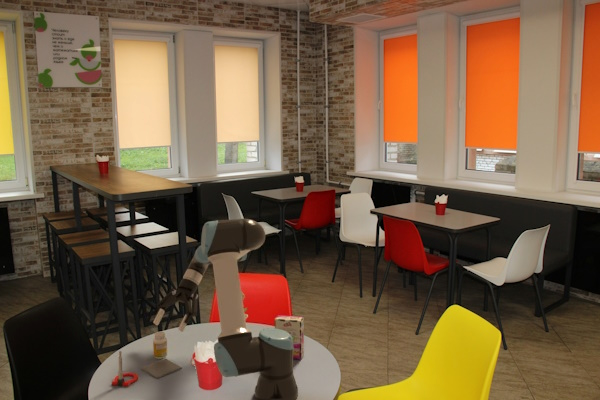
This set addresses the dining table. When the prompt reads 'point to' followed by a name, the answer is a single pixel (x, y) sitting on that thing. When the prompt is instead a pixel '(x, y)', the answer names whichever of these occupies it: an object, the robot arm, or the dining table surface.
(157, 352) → the supplement bottle
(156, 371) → the coaster
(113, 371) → the dining table surface
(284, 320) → the candy bar box
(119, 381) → the tow hook
